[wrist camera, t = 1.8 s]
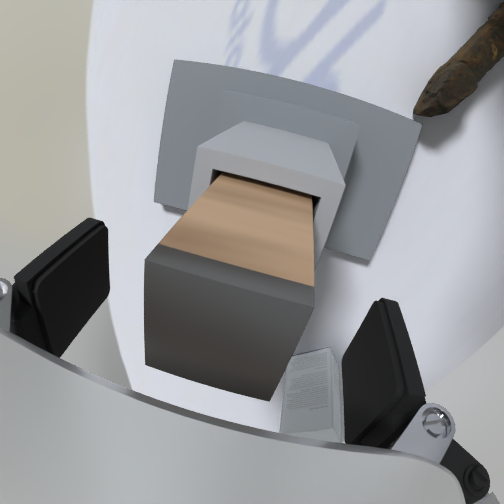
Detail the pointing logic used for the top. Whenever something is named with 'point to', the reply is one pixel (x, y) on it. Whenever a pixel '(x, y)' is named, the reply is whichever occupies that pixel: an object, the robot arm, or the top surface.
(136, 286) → the top surface
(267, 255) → the post
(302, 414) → the skincare box
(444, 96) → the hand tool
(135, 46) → the top surface
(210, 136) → the stand base
